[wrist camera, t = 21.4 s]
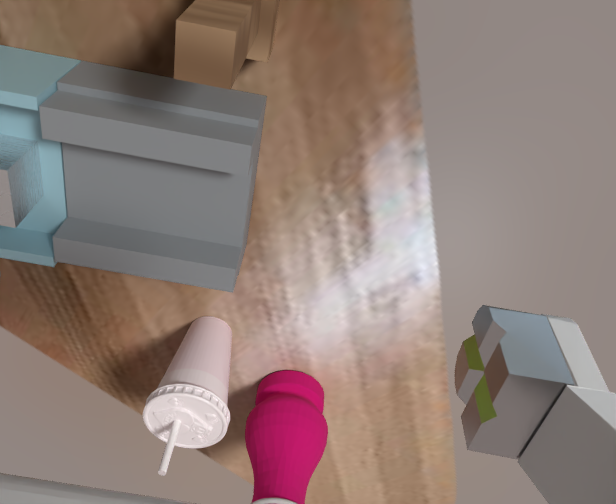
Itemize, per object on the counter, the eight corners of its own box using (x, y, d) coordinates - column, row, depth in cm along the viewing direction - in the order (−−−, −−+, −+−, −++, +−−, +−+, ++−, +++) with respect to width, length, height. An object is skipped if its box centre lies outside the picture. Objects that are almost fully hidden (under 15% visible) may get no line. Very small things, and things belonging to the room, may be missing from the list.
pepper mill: (279, 425, 57) (249, 657, 41) (237, 380, 54) (187, 614, 38) (343, 403, 55) (339, 641, 39) (303, 355, 52) (281, 593, 35)
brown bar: (216, -64, 33) (158, -23, 23) (286, -50, 33) (258, -3, 23) (209, 34, 36) (155, 107, 26) (273, 47, 36) (243, 124, 26)
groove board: (82, 60, 37) (38, 97, 32) (266, 96, 38) (252, 137, 33) (90, 216, 44) (55, 267, 39) (246, 243, 45) (232, 298, 40)
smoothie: (186, 293, 48) (135, 434, 37) (258, 320, 50) (230, 464, 38) (165, 343, 52) (113, 485, 40) (233, 367, 53) (200, 511, 42)
